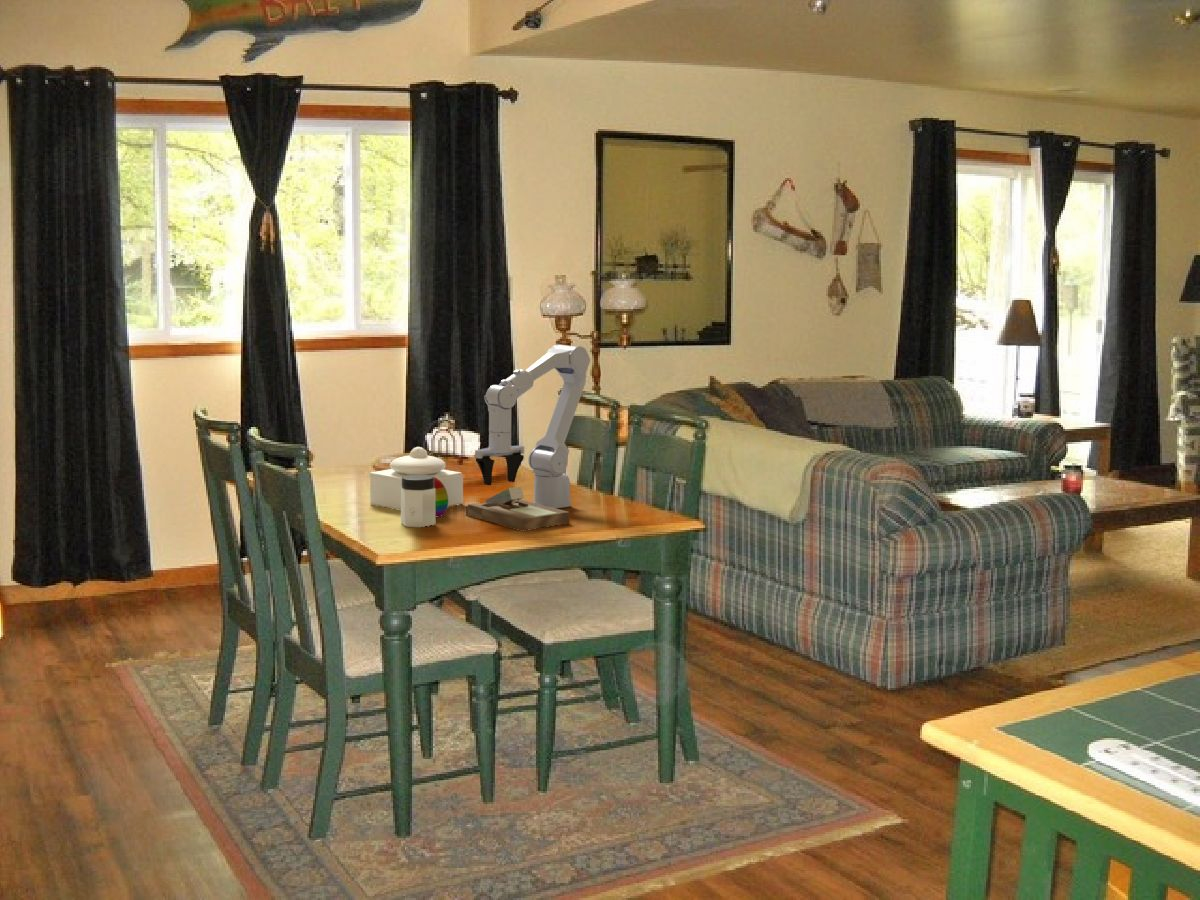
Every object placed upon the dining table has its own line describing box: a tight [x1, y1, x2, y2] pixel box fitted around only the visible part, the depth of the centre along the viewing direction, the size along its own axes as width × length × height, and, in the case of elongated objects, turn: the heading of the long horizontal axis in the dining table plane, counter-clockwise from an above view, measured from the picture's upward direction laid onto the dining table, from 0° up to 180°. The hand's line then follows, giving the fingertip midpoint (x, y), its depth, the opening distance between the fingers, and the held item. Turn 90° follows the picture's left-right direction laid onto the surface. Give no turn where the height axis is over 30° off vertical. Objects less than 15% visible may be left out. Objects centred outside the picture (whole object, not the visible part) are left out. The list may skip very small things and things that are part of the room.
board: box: [465, 499, 570, 532], centre depth 341 cm, size 15×24×4 cm, turn 41°
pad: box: [510, 506, 557, 517], centre depth 336 cm, size 7×10×1 cm
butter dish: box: [368, 446, 464, 511], centre depth 357 cm, size 18×18×16 cm
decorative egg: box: [434, 477, 449, 517], centre depth 344 cm, size 8×8×10 cm
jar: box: [400, 474, 437, 528], centre depth 333 cm, size 9×8×12 cm
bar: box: [485, 486, 525, 507], centre depth 345 cm, size 4×11×3 cm, turn 41°
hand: (499, 483), depth 346 cm, fingers open, 7 cm apart
